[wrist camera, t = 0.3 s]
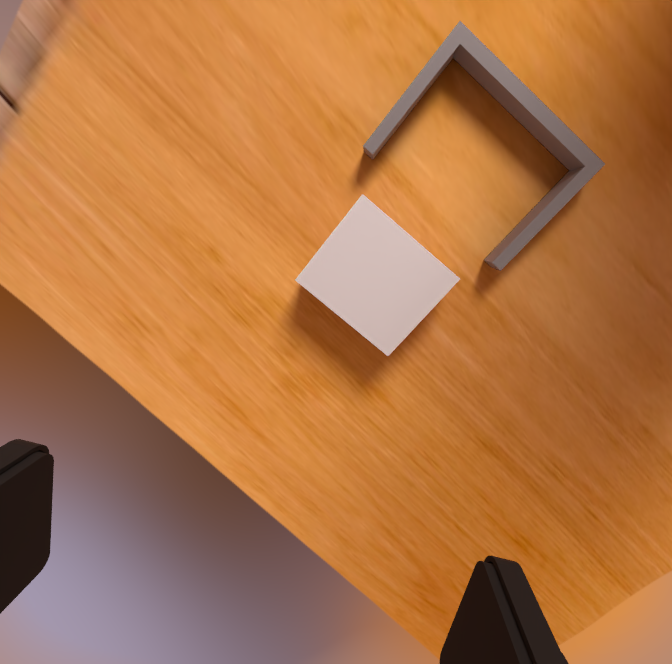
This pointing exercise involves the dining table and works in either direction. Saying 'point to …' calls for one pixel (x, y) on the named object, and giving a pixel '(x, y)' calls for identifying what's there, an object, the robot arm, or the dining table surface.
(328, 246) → the carton
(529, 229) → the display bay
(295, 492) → the dining table surface
